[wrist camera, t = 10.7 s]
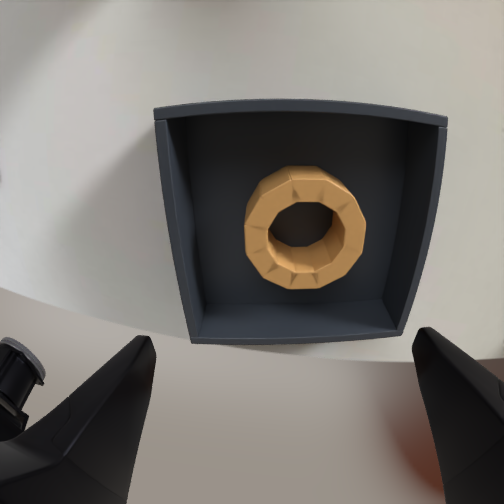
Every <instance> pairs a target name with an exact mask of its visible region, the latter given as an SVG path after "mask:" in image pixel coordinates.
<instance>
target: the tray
mask: <svg viewBox="0 0 504 504" xmlns="http://www.w3.org/2000/svg"><path fill="white" fill-rule="evenodd" d="M153 111H154V120H156V121H155V122H154V123H155V133H156V143H157V152H158V161H159V169H160V177H161V185H162V192H163V199H164V206H165V212H166V219H167V225H168V231H169V237H170V243H171V249H172V254H173V260H174V265H175V270H176V276H177V281H178V286H179V291H180V295H181V300H182V305H183V309H184V314H185V319H186V323H187V327H188V332H189V336H190V340H191V343H192V344H221V345H274V344H306V343H325V342H341V341H354V340H366V339H376V338H386V337H395V336H401V335H402V333H403V330H404V328H405V325H406V322H407V319H408V317H409V314H410V311H411V308H412V305H413V302H414V298H415V295H416V292H417V289H418V285H419V282H420V279H421V275H422V272H423V268H424V264H425V260H426V257H427V253H428V249H429V245H430V240H431V236H432V231H433V227H434V222H435V217H436V212H437V207H438V201H439V195H440V189H441V183H442V176H443V168H444V160H445V151H446V141H447V125H448V117H447V116H442V115H438V114H433V113H428V112H422V111H417V110H411V109H405V108H398V107H392V106H384V105H376V104H368V103H358V102H347V101H333V100H314V99H245V100H226V101H212V102H201V103H191V104H182V105H174V106H166V107H159V108H154V110H153ZM287 165H304V166H318V167H319V168H321V169H323V170H324V171H326V172H328V173H329V174H331V175H332V176H334V177H336V178H337V179H339V180H340V181H341V182H342V183H343V184H344V186H345V187H346V188H347V189H348V190H349V191H350V192H351V194H352V195H353V196H354V197H355V199H356V201H357V203H358V205H359V208H360V210H361V212H362V214H363V216H364V218H365V221H366V231H365V238H364V245H363V251H362V254H361V255H360V257H359V258H358V259H357V260H356V262H355V263H354V264H353V266H352V267H351V268H350V270H349V271H348V272H347V273H346V275H344V276H343V277H341V278H339V279H337V280H335V281H333V282H331V283H329V284H327V285H325V286H323V287H321V288H317V289H286V288H284V287H282V286H280V285H277V284H275V283H273V282H271V281H269V280H266V279H264V278H263V277H262V276H261V275H260V273H259V272H258V271H257V269H256V268H255V266H254V265H253V264H252V262H251V261H250V260H249V258H248V257H247V255H246V253H245V236H244V222H245V214H246V206H247V203H248V201H249V199H250V198H251V196H252V194H253V192H254V191H255V189H256V187H257V185H258V184H259V182H260V181H261V180H262V179H264V178H265V177H267V176H269V175H271V174H272V173H274V172H276V171H278V170H279V169H281V168H283V167H285V166H287ZM332 218H333V210H332V209H330V208H328V207H327V206H325V205H323V204H321V203H320V202H296V203H294V204H293V205H291V206H289V207H287V208H285V209H283V210H282V211H280V212H278V214H277V215H276V217H275V219H274V220H273V222H272V224H271V225H270V227H269V230H270V231H271V233H272V234H273V236H274V237H275V239H276V240H278V241H280V242H282V243H284V244H286V245H288V246H290V247H308V246H310V245H311V244H313V243H315V242H317V241H319V240H321V239H323V237H324V236H325V234H326V233H327V231H328V230H329V228H330V227H331V226H332Z"/></svg>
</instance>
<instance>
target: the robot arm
mask: <svg viewBox="0 0 504 504" xmlns="http://www.w3.org/2000/svg"><path fill="white" fill-rule="evenodd" d="M412 353H413V358H414V362H415V367H416V372H417V377H418V382H419V387H420V391H421V394H422V397H423V401H424V404H425V408H426V411H427V415H428V419H429V423H430V427H431V431H432V434H433V439H434V443H435V447H436V451H437V456H438V461H439V466H440V471H441V476H442V481H443V484H444V485H443V488H444V494H445V501H446V504H504V382H503V381H501V380H500V379H498V378H497V377H496V376H495V375H494V374H492V373H491V372H490V371H489V370H487V369H486V368H485V367H483V366H482V365H481V364H479V363H478V362H477V361H476V360H474V359H473V358H472V357H470V356H469V355H468V354H466V353H465V352H464V351H462V350H461V349H460V348H458V347H457V346H456V345H454V344H453V343H452V342H450V341H449V340H448V339H446V338H445V337H444V336H442V335H441V334H440V333H438V332H437V331H435V330H434V329H433V328H431V327H423V328H420V329H419V330H418V332H417V335H416V337H415V339H414V342H413V344H412ZM155 363H156V352H155V349H154V346H153V343H152V341H151V338H150V337H149V336H144V335H143V336H142V335H138V336H136V337H135V338H134V339H133V340H132V341H130V343H128V344H127V345H126V346H125V347H124V348H123V349H121V350H120V351H119V352H118V353H117V354H116V355H115V356H113V357H112V358H111V359H110V360H109V361H108V362H107V363H106V364H104V365H103V366H102V367H101V368H100V369H99V370H98V371H96V372H95V373H94V374H93V375H92V376H91V377H90V378H88V379H87V380H86V381H85V382H84V383H83V384H82V385H81V386H79V387H78V388H77V389H76V390H75V391H74V392H73V393H72V394H71V395H70V396H69V397H67V398H66V399H65V400H64V401H63V402H61V403H60V404H59V405H58V406H57V407H56V408H55V409H53V410H52V411H51V412H50V413H48V414H47V415H46V416H44V417H43V418H42V419H40V420H39V421H38V422H36V423H35V424H34V425H32V426H31V427H29V428H28V429H27V430H25V427H26V424H27V421H28V418H29V416H28V415H27V414H26V413H24V412H23V411H21V410H22V408H23V406H24V404H25V402H26V400H27V398H28V396H29V394H30V393H31V391H32V389H33V387H34V385H35V384H38V385H41V386H43V385H44V382H43V380H42V379H41V378H40V376H39V375H38V373H37V372H36V371H35V369H34V368H33V366H32V365H31V363H30V362H29V360H28V359H27V357H26V356H25V354H24V353H23V352H22V351H19V350H16V349H12V348H9V347H5V346H2V345H0V504H126V503H127V497H128V492H129V487H130V483H131V477H132V473H133V468H134V464H135V459H136V455H137V451H138V446H139V442H140V438H141V434H142V430H143V425H144V421H145V418H146V413H147V410H148V406H149V401H150V397H151V391H152V383H153V377H154V370H155Z"/></svg>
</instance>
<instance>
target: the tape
mask: <svg viewBox="0 0 504 504" xmlns="http://www.w3.org/2000/svg"><path fill="white" fill-rule="evenodd" d="M296 202H320V203H321V204H323V205H325V206H327V207H328V208H330V209H332V210H333V218H332V226H331V227H330V228H329V230H328V231H327V233H326V234H325V236H324V237H323V239H321V240H319V241H317V242H315V243H313V244H311V245H310V246H308V247H290V246H288V245H286V244H284V243H282V242H280V241H278V240H276V239H275V237H274V236H273V234H272V233H271V231H270V230H269V227H270V225H271V224H272V222H273V220H274V219H275V217H276V215H277V214H278V212H280V211H282V210H283V209H285V208H287V207H289V206H291V205H293V204H294V203H296ZM365 231H366V221H365V218H364V216H363V214H362V212H361V210H360V208H359V205H358V203H357V201H356V199H355V197H354V196H353V195H352V194H351V192H350V191H349V190H348V189H347V188H346V187H345V186H344V184H343V183H342V182H341V181H340V180H339V179H337V178H336V177H334V176H332V175H331V174H329V173H328V172H326V171H324V170H323V169H321V168H319V167H318V166H304V165H287V166H285V167H283V168H281V169H279V170H278V171H276V172H274V173H272V174H271V175H269V176H267V177H265V178H264V179H262V180H261V181H260V182H259V184H258V185H257V187H256V189H255V191H254V192H253V194H252V196H251V198H250V199H249V201H248V203H247V206H246V214H245V222H244V236H245V253H246V255H247V257H248V258H249V260H250V261H251V262H252V264H253V265H254V266H255V268H256V269H257V271H258V272H259V273H260V275H261V276H262V277H263V278H264V279H266V280H269V281H271V282H273V283H275V284H277V285H280V286H282V287H284V288H286V289H317V288H321V287H323V286H325V285H327V284H329V283H331V282H333V281H335V280H337V279H339V278H341V277H343V276H344V275H346V273H347V272H348V271H349V270H350V268H351V267H352V266H353V264H354V263H355V262H356V260H357V259H358V258H359V257H360V255H361V254H362V251H363V245H364V238H365Z"/></svg>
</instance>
